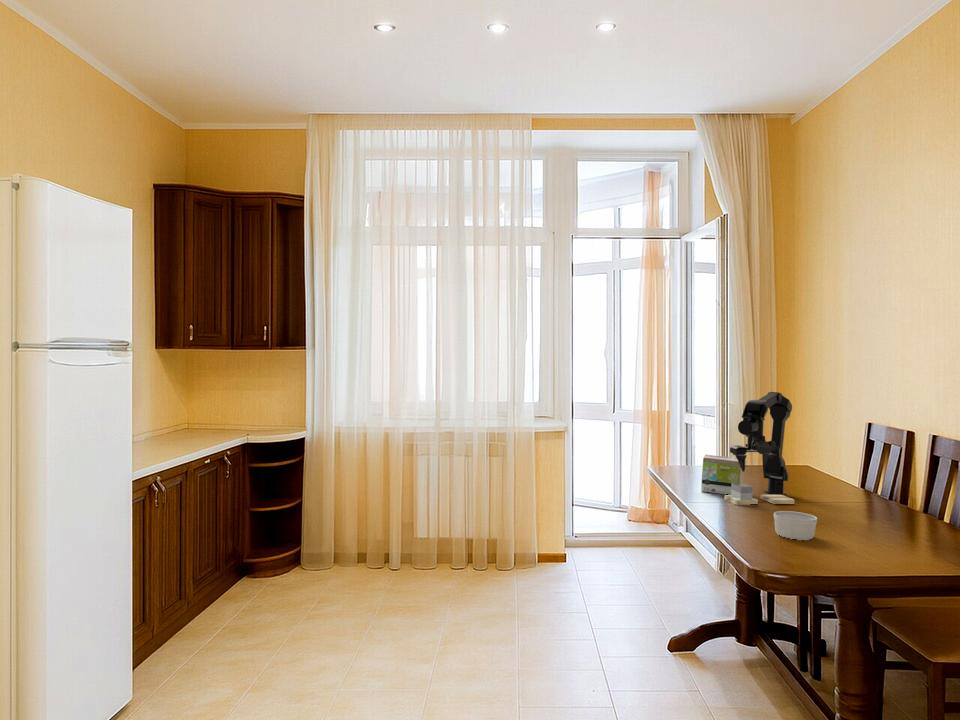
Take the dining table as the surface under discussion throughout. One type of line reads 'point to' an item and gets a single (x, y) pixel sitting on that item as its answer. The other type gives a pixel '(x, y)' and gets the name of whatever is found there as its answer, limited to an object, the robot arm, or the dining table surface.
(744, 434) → the robot arm
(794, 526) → the ramekin
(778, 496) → the stand
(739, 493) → the block
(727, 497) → the stand
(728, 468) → the tea box
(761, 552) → the dining table surface
